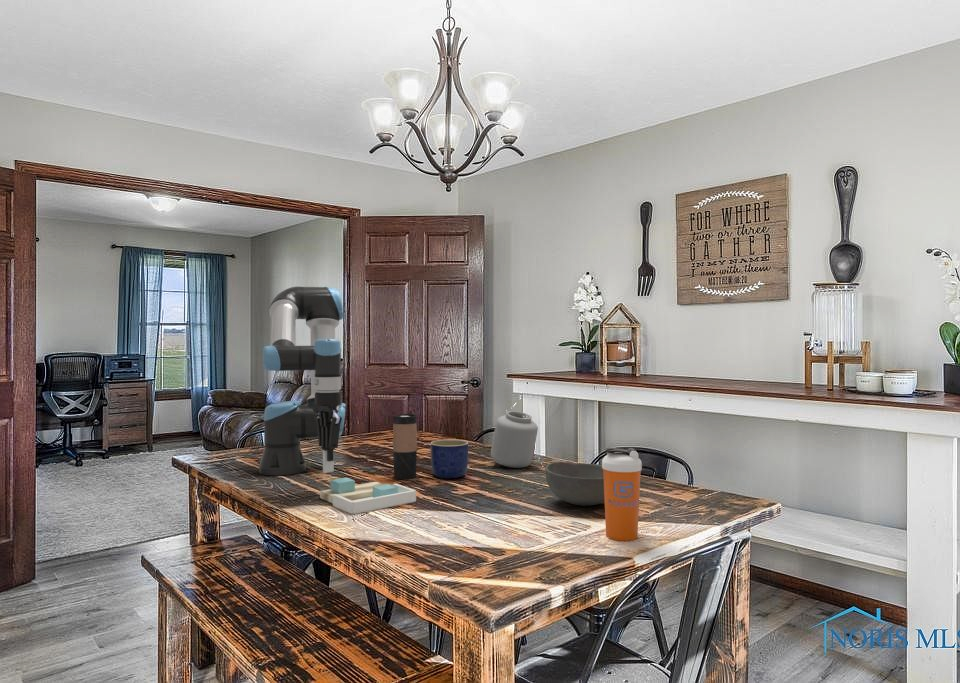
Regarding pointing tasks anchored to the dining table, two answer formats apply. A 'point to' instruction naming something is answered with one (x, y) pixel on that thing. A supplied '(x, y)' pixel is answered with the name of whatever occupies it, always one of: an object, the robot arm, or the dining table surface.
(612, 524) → the shaker bottle
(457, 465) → the planter
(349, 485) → the tile
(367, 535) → the dining table surface
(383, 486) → the tile
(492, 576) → the dining table surface
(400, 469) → the travel mug
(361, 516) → the dining table surface
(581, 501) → the bowl
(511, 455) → the jar
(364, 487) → the board
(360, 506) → the tray
